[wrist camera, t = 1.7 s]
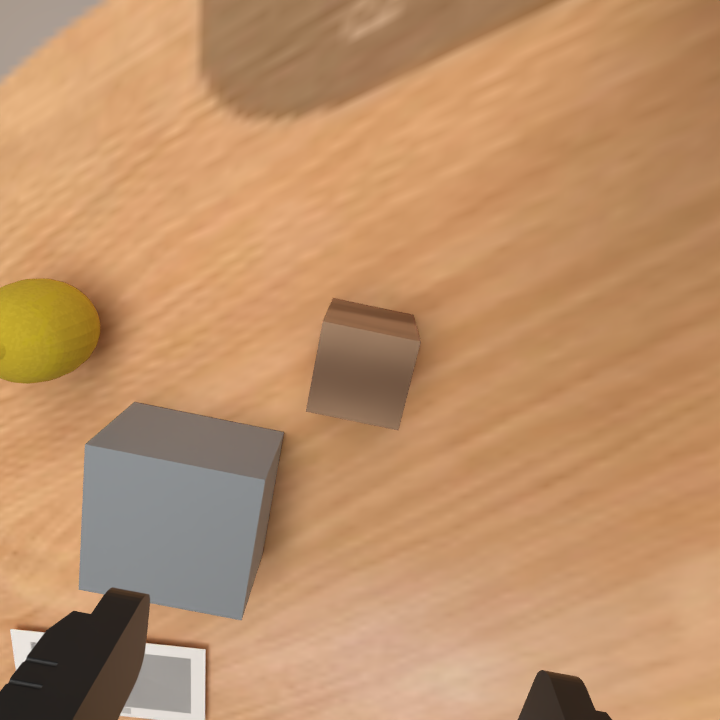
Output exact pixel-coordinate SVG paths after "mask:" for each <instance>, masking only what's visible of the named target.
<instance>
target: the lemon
mask: <svg viewBox="0 0 720 720" xmlns="http://www.w3.org/2000/svg"><path fill="white" fill-rule="evenodd" d="M99 335H100V321H99V317H98V313H97V311H96V309H95V307H94V305H93V304H92V302H91V301H90V300H89V299H88V298H87V296H86V295H84V294H83V293H82V292H80V291H79V290H78V289H77V288H75V287H73V286H71V285H69V284H66V283H64V282H60V281H56V280H52V279H26V280H21V281H18V282H15V283H11V284H8V285H5V286H3V287H1V288H0V378H1V379H4V380H7V381H10V382H16V383H27V384H28V383H37V382H44V381H49V380H53V379H56V378H59V377H61V376H63V375H65V374H68V373H70V372H72V371H74V370H75V369H76V368H78V367H79V366H80V365H81V364H82V363H84V362H85V361H86V360H87V359H88V358H89V357H90V355H91V354H92V352H93V350H94V349H95V347H96V346H97V342H98V339H99Z"/></svg>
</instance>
